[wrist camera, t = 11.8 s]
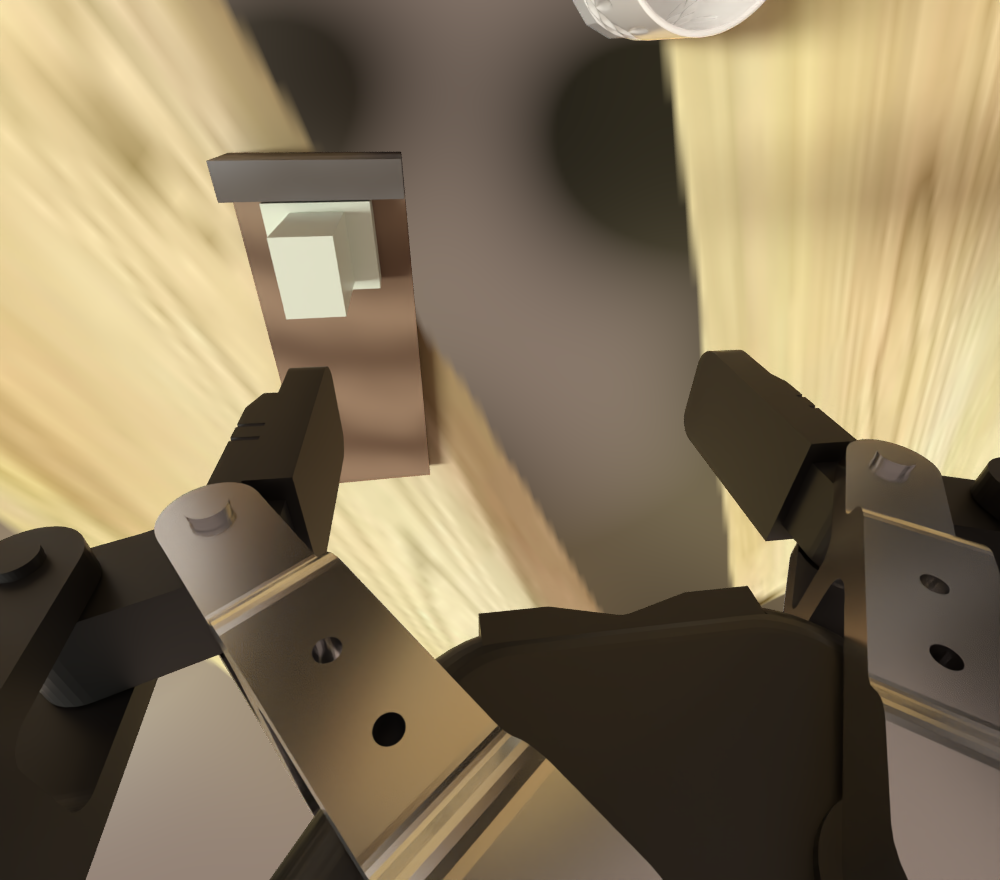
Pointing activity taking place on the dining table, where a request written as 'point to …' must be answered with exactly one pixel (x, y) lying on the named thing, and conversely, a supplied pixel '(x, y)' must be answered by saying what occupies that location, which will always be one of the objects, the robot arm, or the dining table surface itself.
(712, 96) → the dining table surface
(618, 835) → the robot arm
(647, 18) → the white cup
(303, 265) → the block
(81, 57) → the dining table surface
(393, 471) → the rail
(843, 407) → the dining table surface
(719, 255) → the dining table surface
